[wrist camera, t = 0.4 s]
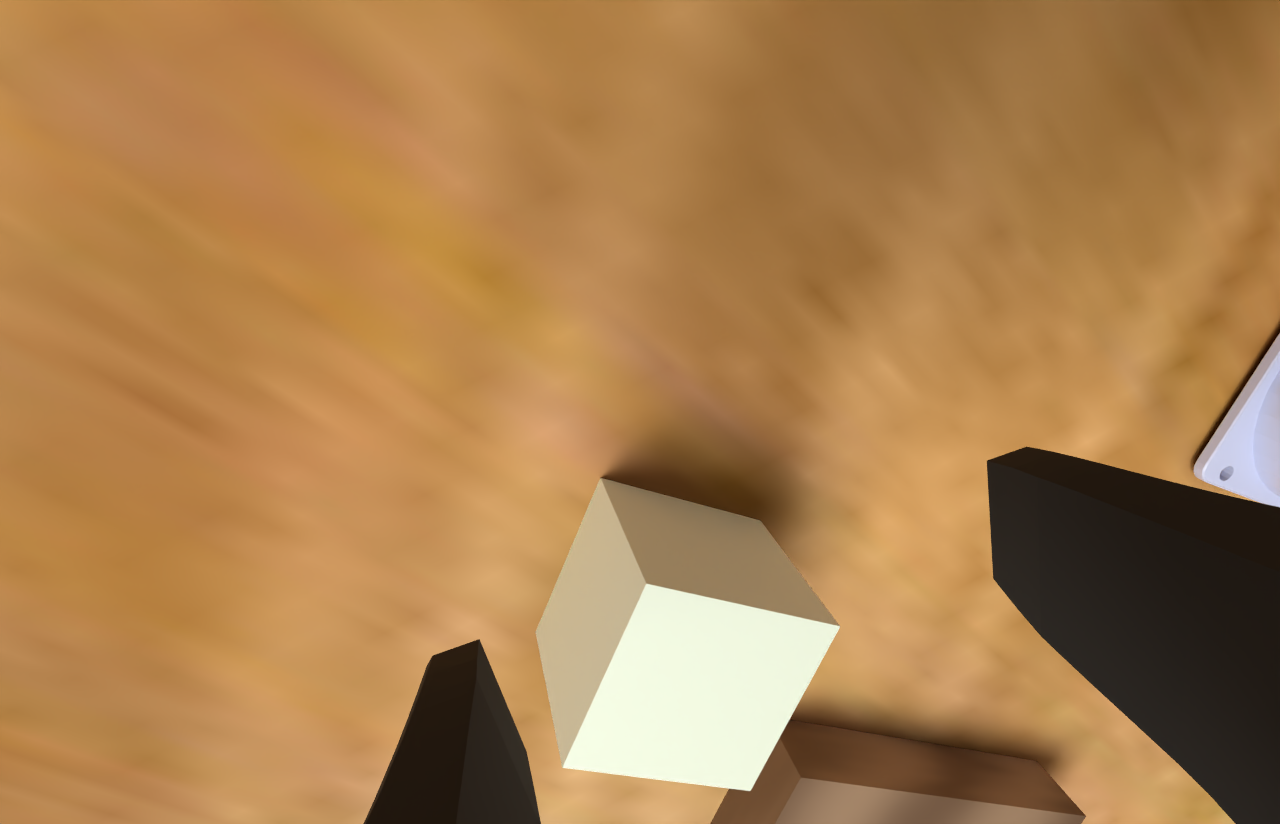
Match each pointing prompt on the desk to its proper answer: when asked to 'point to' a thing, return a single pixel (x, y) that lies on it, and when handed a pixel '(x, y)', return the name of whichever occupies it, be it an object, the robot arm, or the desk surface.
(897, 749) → the walnut box
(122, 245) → the desk surface
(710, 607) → the white block
